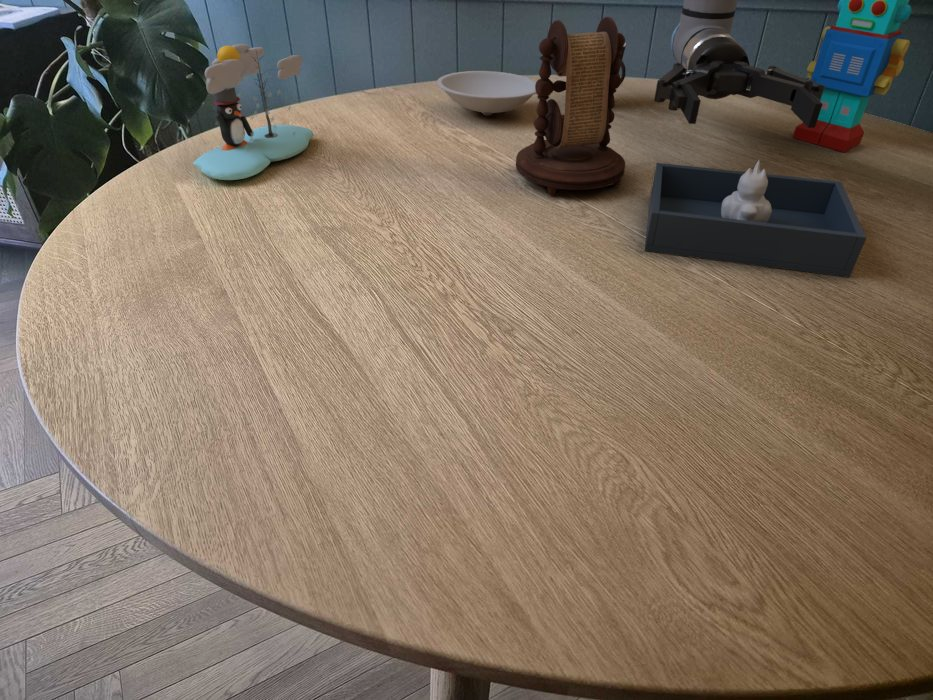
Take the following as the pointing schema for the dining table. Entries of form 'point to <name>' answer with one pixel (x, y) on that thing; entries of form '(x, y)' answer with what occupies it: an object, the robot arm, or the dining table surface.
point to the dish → (487, 90)
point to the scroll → (576, 111)
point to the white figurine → (749, 198)
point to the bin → (748, 242)
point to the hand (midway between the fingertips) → (754, 114)
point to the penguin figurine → (254, 146)
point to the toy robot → (855, 68)
